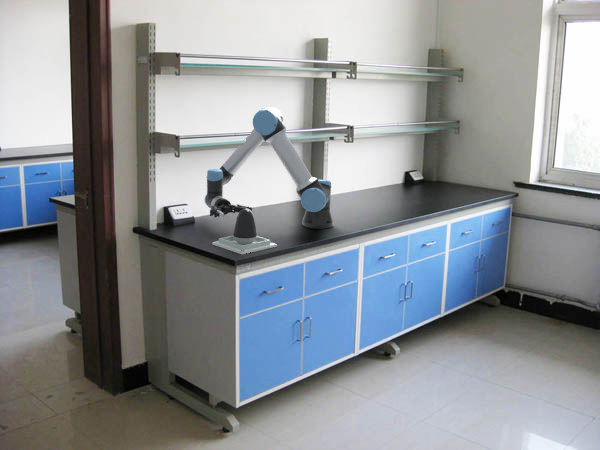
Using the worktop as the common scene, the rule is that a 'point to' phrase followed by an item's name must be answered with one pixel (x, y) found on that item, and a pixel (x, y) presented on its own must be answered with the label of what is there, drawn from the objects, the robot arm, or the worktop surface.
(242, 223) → the dark grey rounded dome
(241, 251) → the square tray
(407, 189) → the worktop surface
